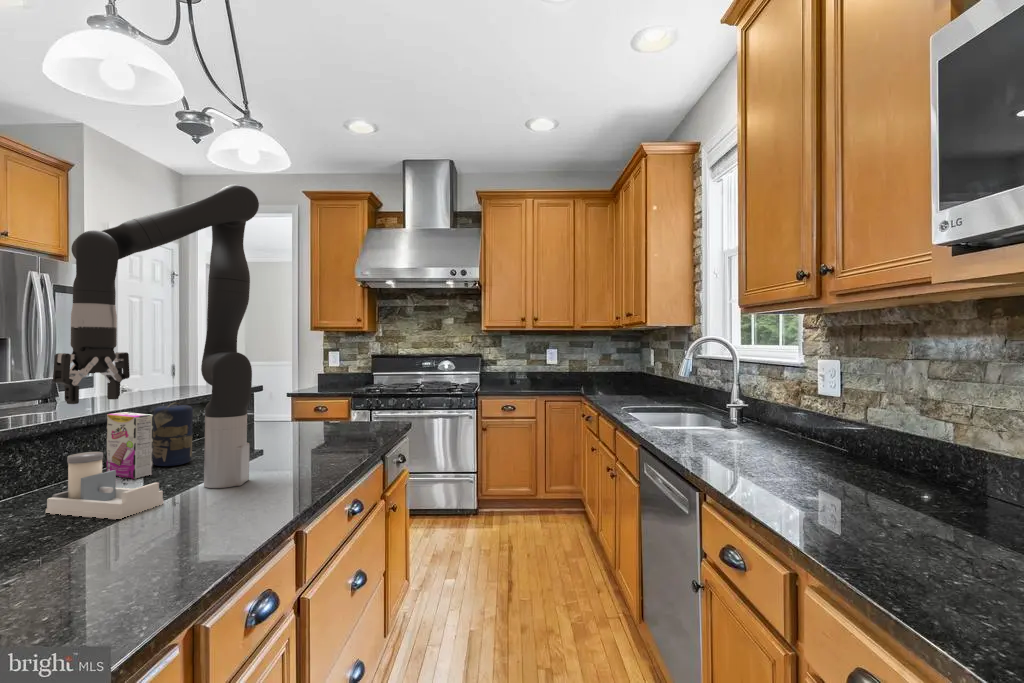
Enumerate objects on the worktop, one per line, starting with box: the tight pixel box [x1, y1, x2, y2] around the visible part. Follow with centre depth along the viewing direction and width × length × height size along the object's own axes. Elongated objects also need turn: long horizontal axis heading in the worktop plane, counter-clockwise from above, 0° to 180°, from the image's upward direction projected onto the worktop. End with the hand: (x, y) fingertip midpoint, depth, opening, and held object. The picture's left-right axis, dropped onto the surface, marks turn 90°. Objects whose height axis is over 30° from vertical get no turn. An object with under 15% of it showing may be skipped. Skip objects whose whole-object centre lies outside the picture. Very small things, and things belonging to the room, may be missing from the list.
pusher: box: [80, 470, 117, 501], centre depth 105 cm, size 3×7×6 cm, turn 170°
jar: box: [66, 451, 104, 499], centre depth 105 cm, size 6×6×10 cm
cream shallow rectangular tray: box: [45, 482, 165, 520], centre depth 105 cm, size 18×10×5 cm, turn 80°
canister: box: [152, 402, 194, 467], centre depth 144 cm, size 10×10×18 cm
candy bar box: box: [105, 411, 154, 480], centre depth 131 cm, size 11×5×16 cm, turn 71°
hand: (93, 401), depth 105 cm, fingers open, 8 cm apart
